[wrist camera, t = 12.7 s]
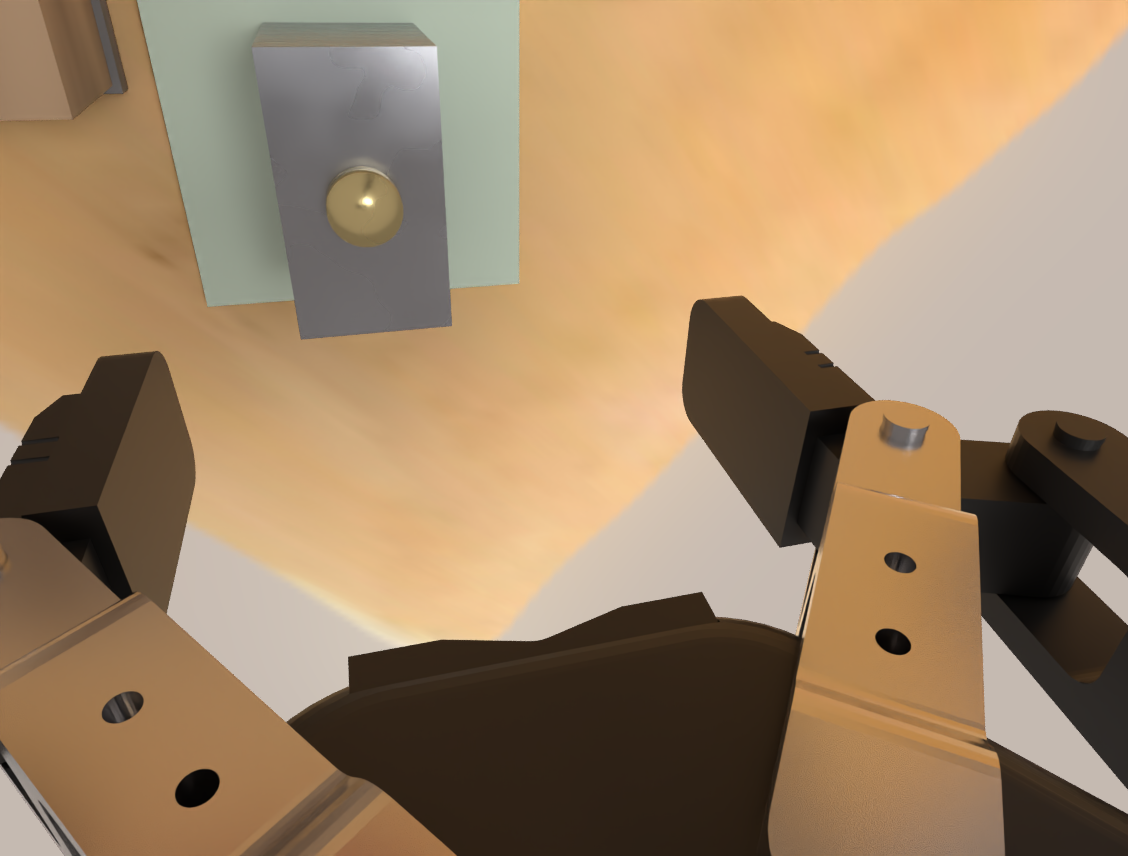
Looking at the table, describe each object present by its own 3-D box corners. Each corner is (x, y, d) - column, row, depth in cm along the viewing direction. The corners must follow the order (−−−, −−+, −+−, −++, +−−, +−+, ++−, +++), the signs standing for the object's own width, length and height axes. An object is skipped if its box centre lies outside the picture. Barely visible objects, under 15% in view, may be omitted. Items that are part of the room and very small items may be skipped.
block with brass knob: (412, 22, 22) (440, 49, 17) (429, 262, 26) (455, 335, 21) (262, 22, 21) (249, 50, 16) (302, 270, 25) (301, 349, 20)
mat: (516, -18, 22) (519, -17, 22) (516, 279, 27) (519, 283, 27) (133, -25, 20) (131, -25, 20) (209, 301, 25) (207, 306, 24)
